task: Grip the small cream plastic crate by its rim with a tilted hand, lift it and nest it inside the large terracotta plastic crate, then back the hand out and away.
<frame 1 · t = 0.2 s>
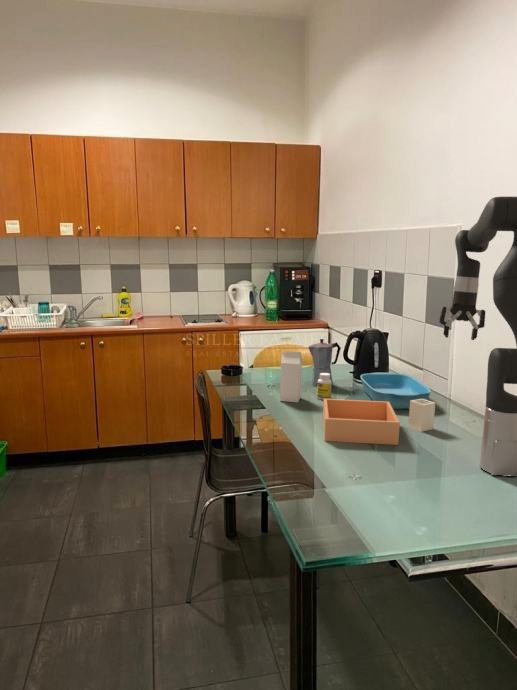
hand: (459, 338, 182), 28 cm above the table, tool pointing down, fingers open, 8 cm apart
moka pot: (322, 385, 229), on the table
small crate: (420, 428, 176), on the table
milk carton: (290, 400, 206), on the table
large crate: (357, 430, 172), on the table
casserole dish: (392, 399, 210), on the table
supplement bottle: (323, 398, 209), on the table
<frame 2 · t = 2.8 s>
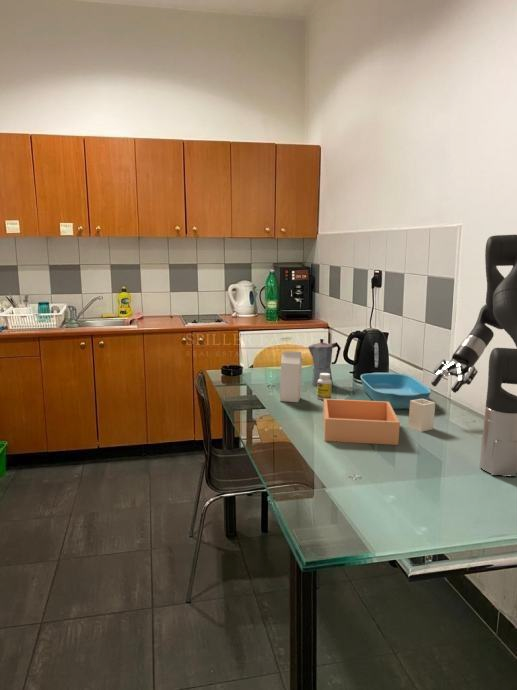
hand: (442, 388, 178), 13 cm above the table, tool tilted 45°, fingers open, 8 cm apart
nothing on the table moved.
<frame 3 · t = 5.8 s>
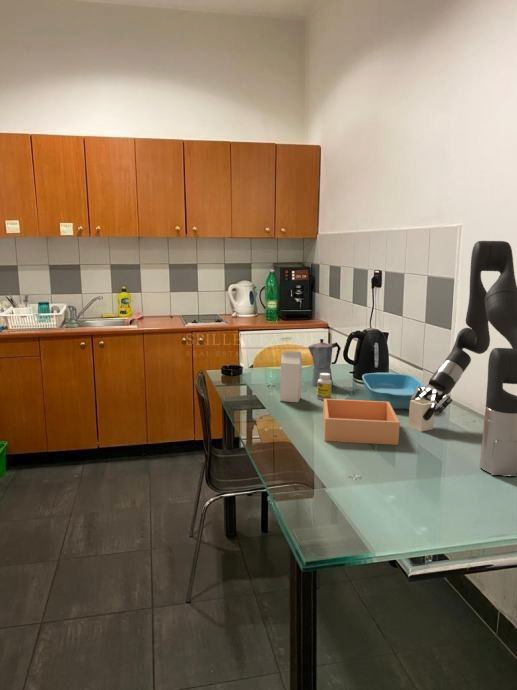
hand: (417, 416, 175), 4 cm above the table, tool tilted 45°, fingers closed on small crate, 5 cm apart
small crate: (420, 427, 176), on the table, touching gripper
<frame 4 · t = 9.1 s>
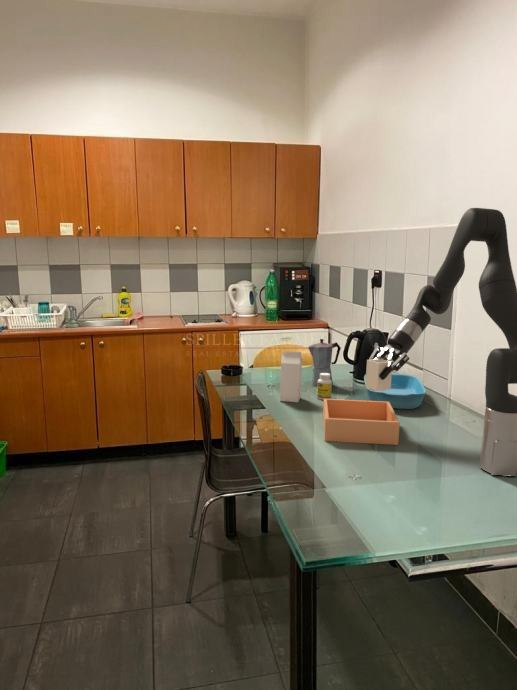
hand: (374, 375, 170), 18 cm above the table, tool tilted 45°, fingers closed on small crate, 5 cm apart
small crate: (377, 388, 171), point 14 cm above the table, touching gripper
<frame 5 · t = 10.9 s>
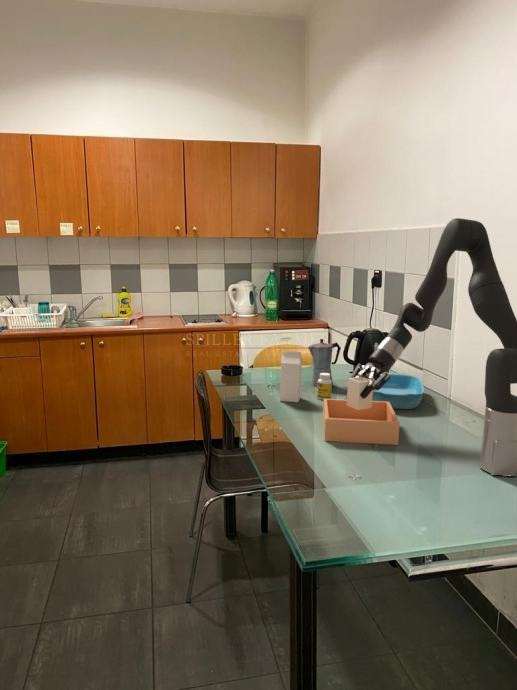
hand: (355, 394, 169), 12 cm above the table, tool tilted 45°, fingers closed on small crate, 5 cm apart
small crate: (359, 406, 171), point 8 cm above the table, touching gripper
when the fingers open (7 cm above the table, at t = 12.4 s): small crate drops 1 cm, resting on large crate.
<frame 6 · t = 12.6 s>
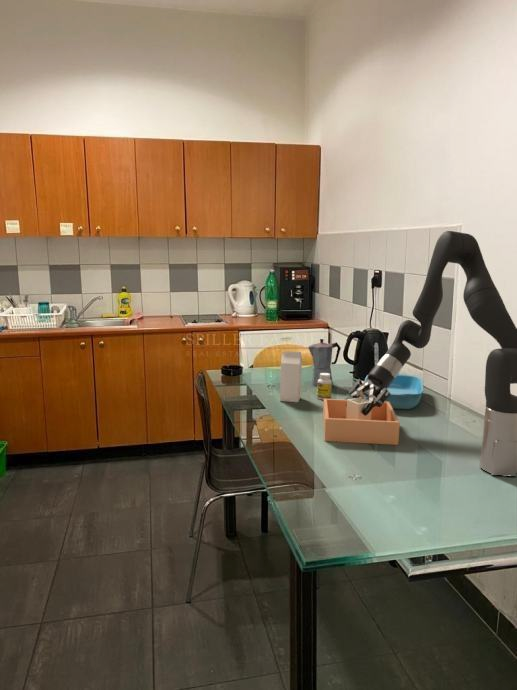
hand: (355, 410, 170), 7 cm above the table, tool tilted 45°, fingers open, 7 cm apart
small crate: (357, 427, 172), point 1 cm above the table, touching large crate
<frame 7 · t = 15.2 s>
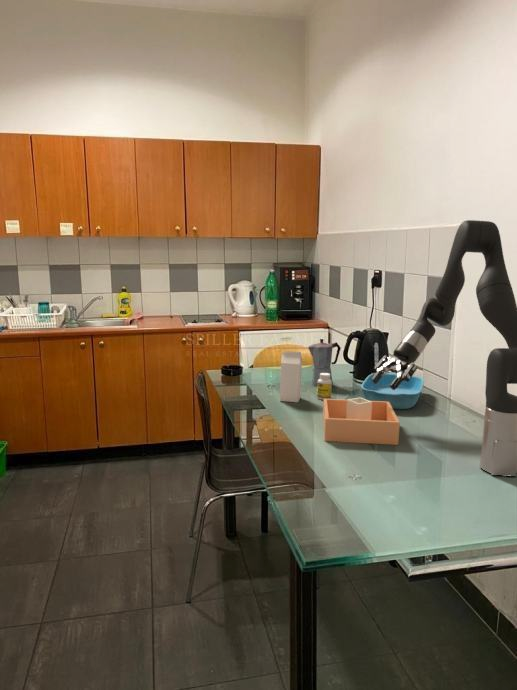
hand: (382, 385, 174), 14 cm above the table, tool tilted 45°, fingers open, 8 cm apart
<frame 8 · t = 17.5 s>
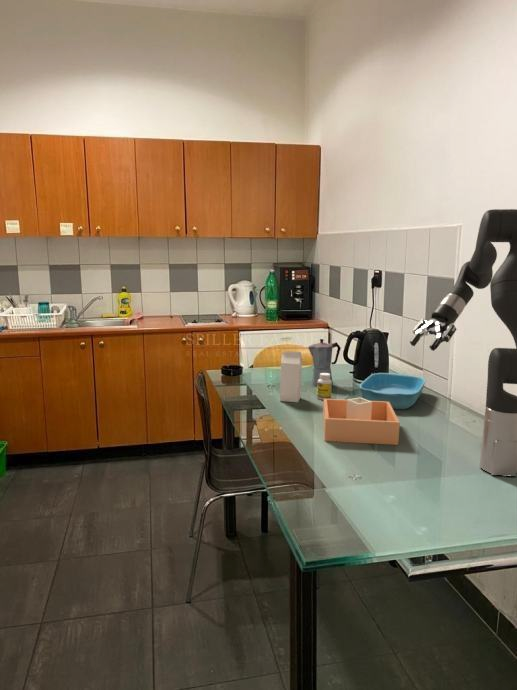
hand: (421, 346, 175), 27 cm above the table, tool tilted 45°, fingers open, 8 cm apart
at the end: small crate inside the target area on the large crate (0.1 cm from its centre), point 1.0 cm above the large crate's base; small crate tilted 0°; the gripper is holding nothing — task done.
